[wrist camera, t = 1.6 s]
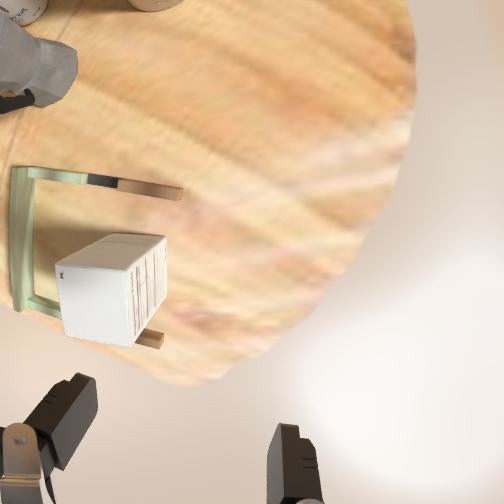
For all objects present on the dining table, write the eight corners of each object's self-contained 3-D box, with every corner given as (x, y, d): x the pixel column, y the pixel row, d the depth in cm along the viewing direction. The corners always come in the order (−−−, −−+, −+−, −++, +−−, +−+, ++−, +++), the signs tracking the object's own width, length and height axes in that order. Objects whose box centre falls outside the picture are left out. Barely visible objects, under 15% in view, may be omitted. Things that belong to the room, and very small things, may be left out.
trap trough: (29, 299, 39) (13, 310, 35) (31, 165, 34) (12, 167, 30) (163, 341, 40) (154, 357, 36) (183, 188, 35) (173, 191, 31)
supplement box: (114, 289, 38) (62, 336, 26) (111, 231, 36) (51, 260, 24) (169, 296, 38) (131, 351, 26) (169, 235, 36) (125, 270, 24)
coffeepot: (16, 68, 31) (-74, 46, 13) (62, 22, 29) (-22, -24, 12) (51, 146, 34) (-56, 148, 16) (104, 97, 32) (2, 64, 15)
